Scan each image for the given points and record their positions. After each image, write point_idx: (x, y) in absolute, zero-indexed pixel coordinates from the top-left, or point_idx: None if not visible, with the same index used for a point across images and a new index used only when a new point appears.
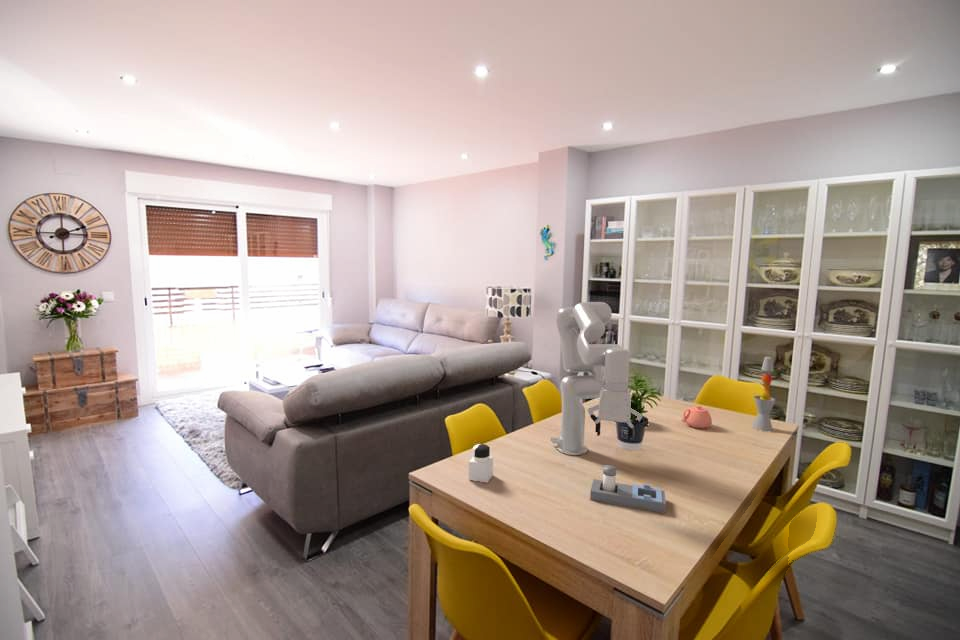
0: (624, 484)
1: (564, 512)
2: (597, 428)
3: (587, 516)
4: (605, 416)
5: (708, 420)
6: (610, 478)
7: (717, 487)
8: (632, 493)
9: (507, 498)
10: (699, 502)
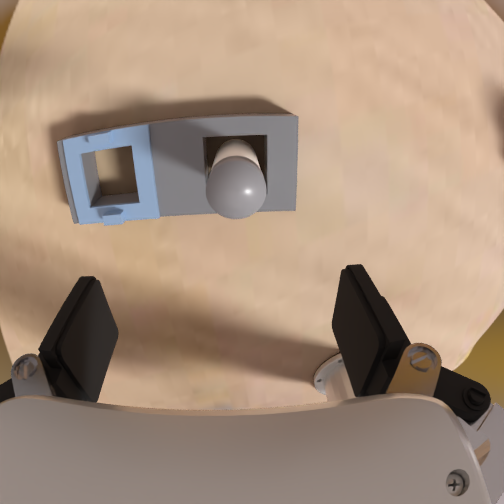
0: (186, 212)
1: (356, 17)
2: (386, 306)
3: (286, 11)
4: (369, 458)
5: None
6: (228, 155)
7: (26, 313)
8: (149, 151)
9: (488, 73)
10: (25, 235)
